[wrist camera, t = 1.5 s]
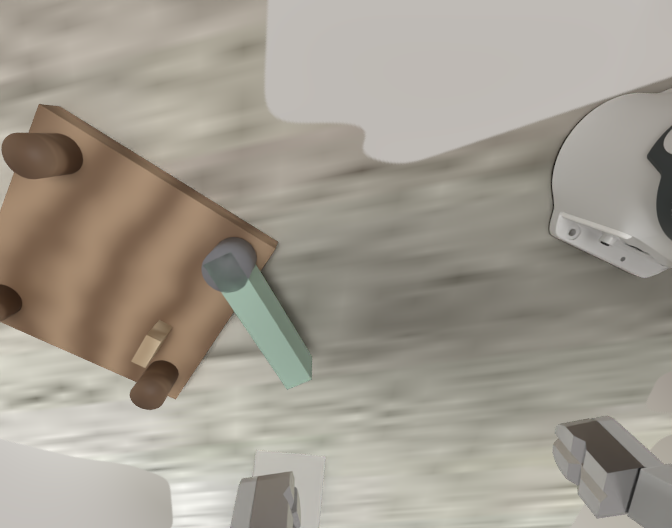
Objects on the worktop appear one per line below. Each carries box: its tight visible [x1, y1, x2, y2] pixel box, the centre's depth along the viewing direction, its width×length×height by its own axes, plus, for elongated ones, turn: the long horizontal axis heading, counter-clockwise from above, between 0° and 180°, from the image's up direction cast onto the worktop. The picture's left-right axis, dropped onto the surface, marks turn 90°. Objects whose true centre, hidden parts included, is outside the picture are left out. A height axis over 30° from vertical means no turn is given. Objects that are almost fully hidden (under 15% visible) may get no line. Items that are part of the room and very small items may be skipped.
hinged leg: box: [202, 237, 312, 390], centre depth 35 cm, size 17×4×4 cm, turn 25°
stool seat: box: [0, 104, 278, 410], centre depth 34 cm, size 24×24×6 cm
